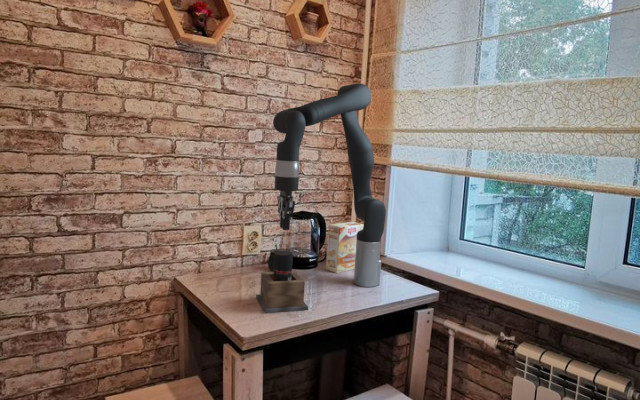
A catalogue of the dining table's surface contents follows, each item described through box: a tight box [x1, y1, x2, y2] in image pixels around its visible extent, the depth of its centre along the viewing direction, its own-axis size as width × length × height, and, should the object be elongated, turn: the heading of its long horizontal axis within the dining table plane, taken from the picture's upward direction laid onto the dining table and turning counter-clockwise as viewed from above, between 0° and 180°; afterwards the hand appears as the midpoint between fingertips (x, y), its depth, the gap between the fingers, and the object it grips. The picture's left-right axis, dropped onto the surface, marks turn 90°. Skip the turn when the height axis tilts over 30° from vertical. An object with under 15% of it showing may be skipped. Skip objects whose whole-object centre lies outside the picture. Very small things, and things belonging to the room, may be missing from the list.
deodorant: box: [273, 250, 294, 281], centre depth 141 cm, size 6×6×15 cm
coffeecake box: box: [325, 221, 364, 274], centre depth 184 cm, size 15×7×20 cm, turn 132°
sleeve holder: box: [255, 270, 309, 314], centre depth 141 cm, size 14×14×9 cm
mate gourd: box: [267, 243, 283, 272], centre depth 178 cm, size 7×8×10 cm
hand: (284, 228), depth 139 cm, fingers closed
